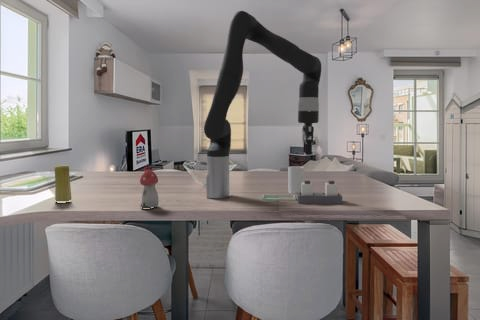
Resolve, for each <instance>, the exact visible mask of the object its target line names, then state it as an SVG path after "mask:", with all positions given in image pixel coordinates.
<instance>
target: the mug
mask: <svg viewBox="0 0 480 320" xmlns="http://www.w3.org/2000/svg"><path fill="white" fill-rule="evenodd" d="M287 169H288V170H287V171H288V172H287V173H288V174H287V177H288V178H287V179H288V180H287V182H288V183H287V184H288V188H287V189H288V190H287V191H288V192H287V193H289V194H293V195H295V194H296V195H297V192H301V185H302V183H304V180H305V179H304V178H305V177H304V176H305V167H304V166H297V165H296V166H295V165H294V166H292V165H291V166H290V165H289V166H288V167H287Z"/></svg>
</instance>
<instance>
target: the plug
mask: <svg viewBox="0 0 480 320" xmlns="http://www.w3.org/2000/svg"><path fill="white" fill-rule="evenodd" d="M313 193H314V183H313V182H311V180H309V179H307V180H305V179H304V183H302V185H301V195H309V196H313Z"/></svg>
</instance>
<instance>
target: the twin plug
mask: <svg viewBox="0 0 480 320" xmlns="http://www.w3.org/2000/svg"><path fill="white" fill-rule="evenodd" d="M324 183H325V184H324V193H325V196H337V194H338V193H339V191H338V186H339V185H338V183H337V182H335V180H327V182H324Z"/></svg>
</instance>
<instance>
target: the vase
mask: <svg viewBox="0 0 480 320" xmlns="http://www.w3.org/2000/svg"><path fill="white" fill-rule="evenodd" d="M54 179H55V180H54V183H55V185H54V186H55V190H54V192H55V193H54V194H55V196H54V198H55V199H54V201H55V200H56V201H69V200H71V199H72V198H73V197H72V189H71V178H70V166H69V165H57V166H54Z"/></svg>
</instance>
